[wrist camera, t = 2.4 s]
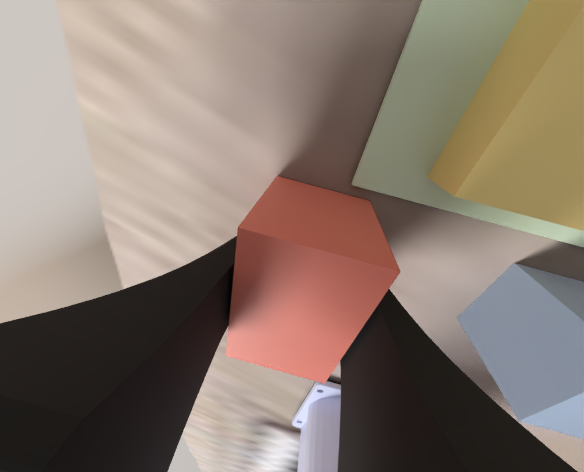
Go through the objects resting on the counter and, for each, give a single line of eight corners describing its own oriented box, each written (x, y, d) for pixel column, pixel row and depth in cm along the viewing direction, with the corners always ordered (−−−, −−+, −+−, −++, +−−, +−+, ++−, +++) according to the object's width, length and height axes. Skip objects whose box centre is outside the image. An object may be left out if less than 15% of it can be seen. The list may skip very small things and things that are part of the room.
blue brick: (528, 337, 11) (627, 451, 8) (456, 317, 11) (518, 421, 8) (602, 285, 9) (791, 409, 5) (513, 261, 9) (638, 367, 6)
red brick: (326, 296, 12) (324, 383, 8) (258, 277, 12) (225, 355, 8) (369, 200, 9) (400, 271, 5) (277, 175, 9) (237, 227, 5)
